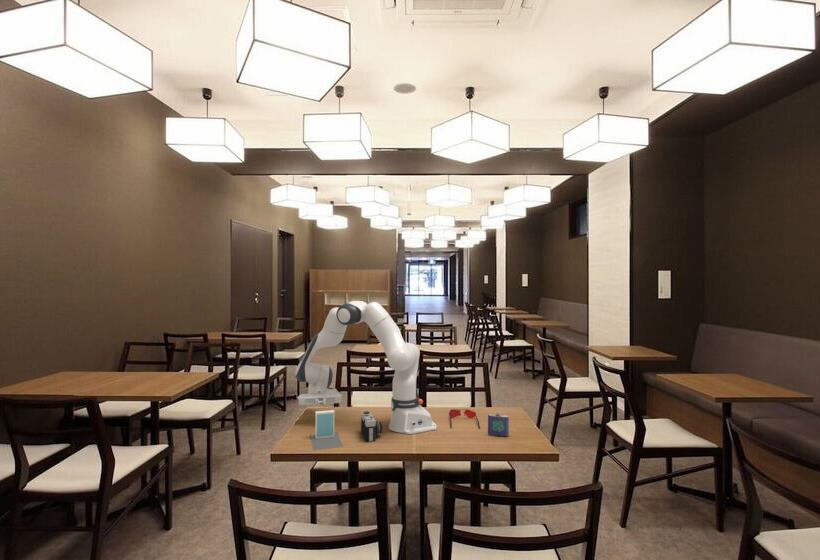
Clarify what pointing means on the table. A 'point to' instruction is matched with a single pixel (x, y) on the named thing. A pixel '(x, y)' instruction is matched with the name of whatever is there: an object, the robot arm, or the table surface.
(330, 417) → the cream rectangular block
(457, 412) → the glasses
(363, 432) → the camera
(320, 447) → the mat
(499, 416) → the flask
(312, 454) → the table surface
